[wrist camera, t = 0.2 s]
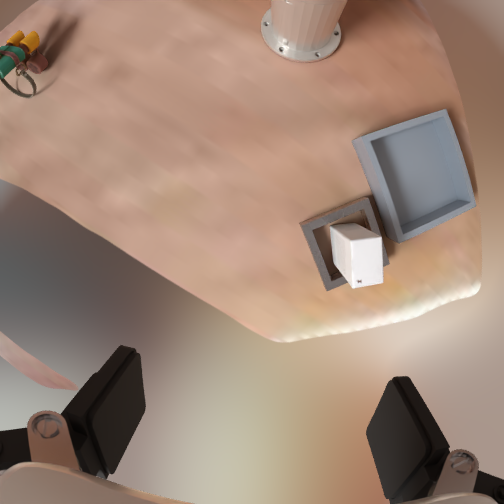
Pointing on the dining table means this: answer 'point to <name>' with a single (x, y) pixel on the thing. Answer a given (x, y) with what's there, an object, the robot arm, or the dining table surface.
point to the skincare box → (357, 254)
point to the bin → (416, 174)
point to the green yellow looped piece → (21, 59)
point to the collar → (329, 217)
